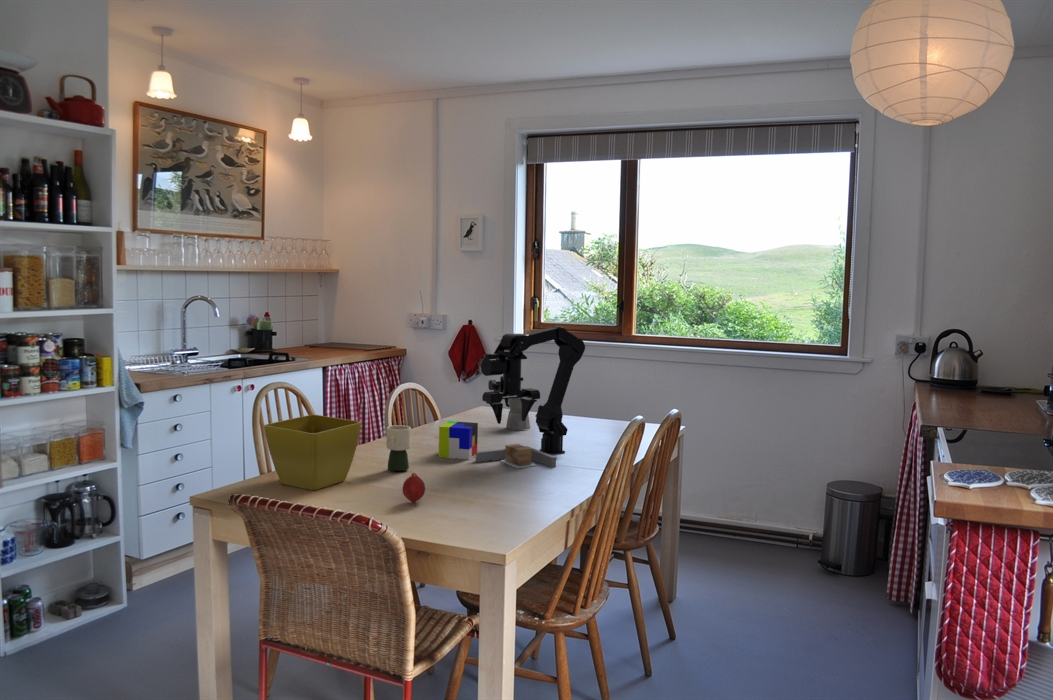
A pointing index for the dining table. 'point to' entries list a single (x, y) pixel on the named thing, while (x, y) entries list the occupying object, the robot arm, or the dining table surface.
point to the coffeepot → (516, 414)
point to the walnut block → (518, 454)
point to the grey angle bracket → (500, 454)
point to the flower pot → (312, 449)
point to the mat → (516, 465)
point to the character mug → (398, 446)
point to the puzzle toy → (458, 439)
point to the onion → (413, 488)
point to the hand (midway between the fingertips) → (511, 422)
